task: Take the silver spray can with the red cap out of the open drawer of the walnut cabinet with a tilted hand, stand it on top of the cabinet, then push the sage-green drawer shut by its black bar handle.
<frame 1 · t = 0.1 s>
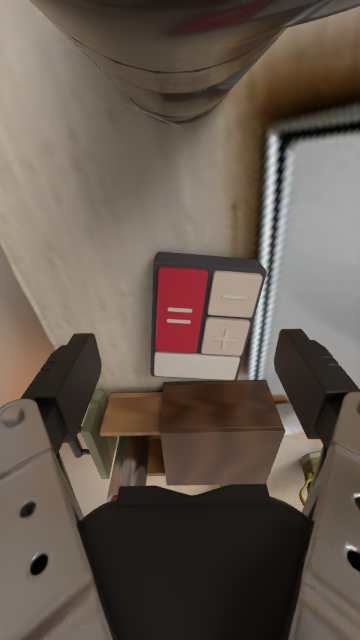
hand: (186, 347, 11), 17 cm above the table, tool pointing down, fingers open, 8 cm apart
ceramic cup: (311, 456, 51), on the table
cabinet: (212, 410, 42), on the table
drawer: (131, 435, 38), point 4 cm above the table, slide at 9.0 cm, touching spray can
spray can: (137, 421, 40), point 2 cm above the table, touching drawer
calculator: (199, 313, 31), on the table
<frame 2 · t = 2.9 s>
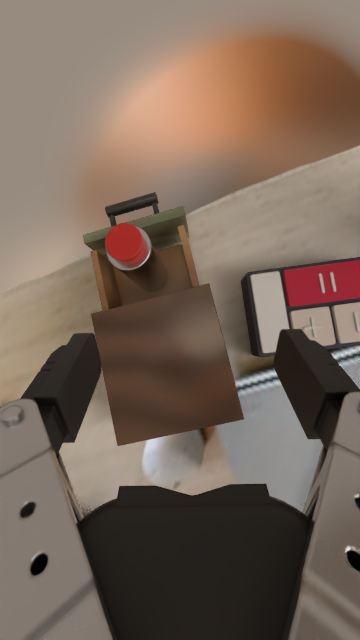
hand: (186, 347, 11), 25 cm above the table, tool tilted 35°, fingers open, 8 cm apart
cabinet: (173, 359, 36), on the table
drawer: (147, 267, 34), point 4 cm above the table, slide at 9.0 cm, touching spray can
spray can: (152, 276, 36), point 2 cm above the table, touching drawer
calculator: (300, 310, 35), on the table
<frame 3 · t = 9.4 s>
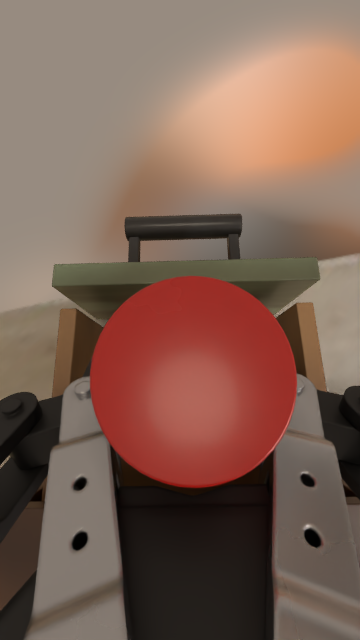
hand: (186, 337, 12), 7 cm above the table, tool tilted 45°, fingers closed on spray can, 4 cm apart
cabinet: (191, 587, 15), on the table
drawer: (186, 368, 14), point 4 cm above the table, slide at 9.0 cm, touching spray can
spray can: (186, 380, 16), point 2 cm above the table, touching drawer, gripper
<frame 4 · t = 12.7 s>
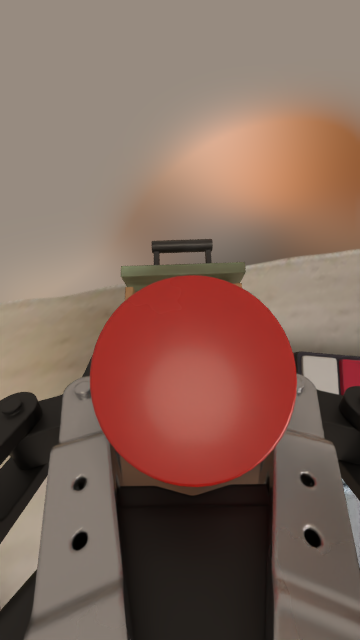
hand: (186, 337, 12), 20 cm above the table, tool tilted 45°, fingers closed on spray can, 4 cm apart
cabinet: (187, 433, 29), on the table
drawer: (184, 318, 28), point 4 cm above the table, slide at 9.0 cm
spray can: (186, 380, 16), point 15 cm above the table, touching gripper
calculator: (347, 406, 30), on the table
when the fingers open (14 cm above the table, at t = 16.0 s): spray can stays where it is, resting on cabinet.
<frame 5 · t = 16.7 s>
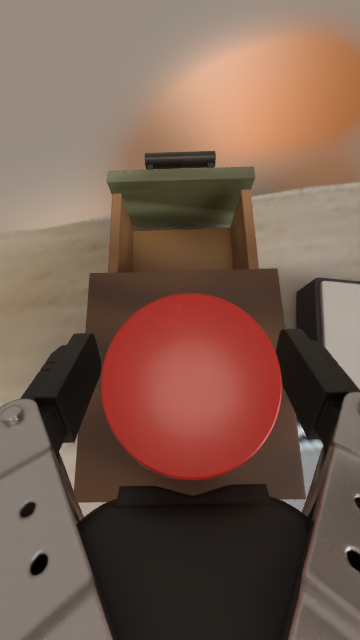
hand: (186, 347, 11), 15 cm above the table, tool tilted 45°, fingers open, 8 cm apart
cabinet: (185, 376, 25), on the table
drawer: (182, 239, 24), point 4 cm above the table, slide at 9.0 cm
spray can: (186, 382, 17), point 8 cm above the table, touching cabinet
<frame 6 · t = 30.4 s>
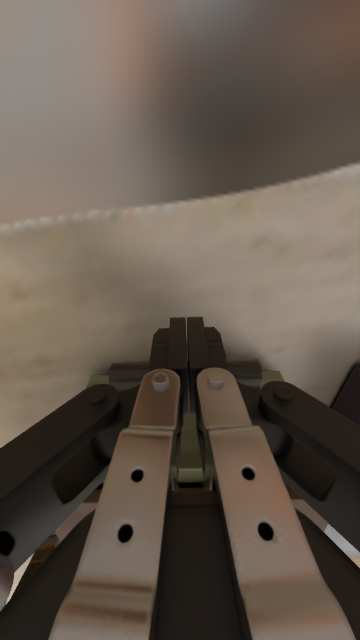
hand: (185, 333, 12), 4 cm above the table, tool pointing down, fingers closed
ceramic cup: (67, 539, 33), on the table
cabinet: (186, 441, 23), on the table
drawer: (187, 462, 17), point 4 cm above the table, slide at 0.0 cm, touching cabinet, gripper
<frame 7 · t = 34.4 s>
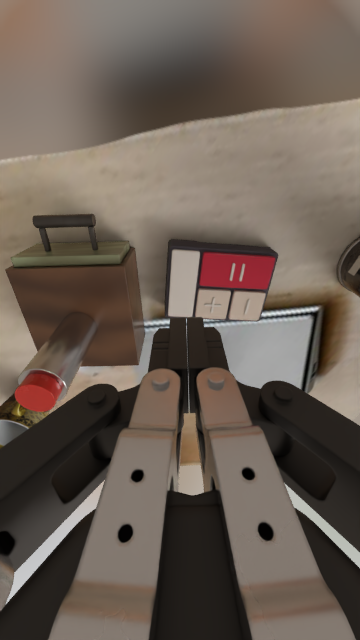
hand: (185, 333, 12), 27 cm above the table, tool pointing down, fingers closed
ceramic cup: (38, 388, 52), on the table
cabinet: (96, 296, 41), on the table
drawer: (83, 284, 35), point 4 cm above the table, slide at 0.0 cm, touching cabinet
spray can: (80, 326, 34), point 8 cm above the table, touching cabinet
calculator: (215, 278, 39), on the table
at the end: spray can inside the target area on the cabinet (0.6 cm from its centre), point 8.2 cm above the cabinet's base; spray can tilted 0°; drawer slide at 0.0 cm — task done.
